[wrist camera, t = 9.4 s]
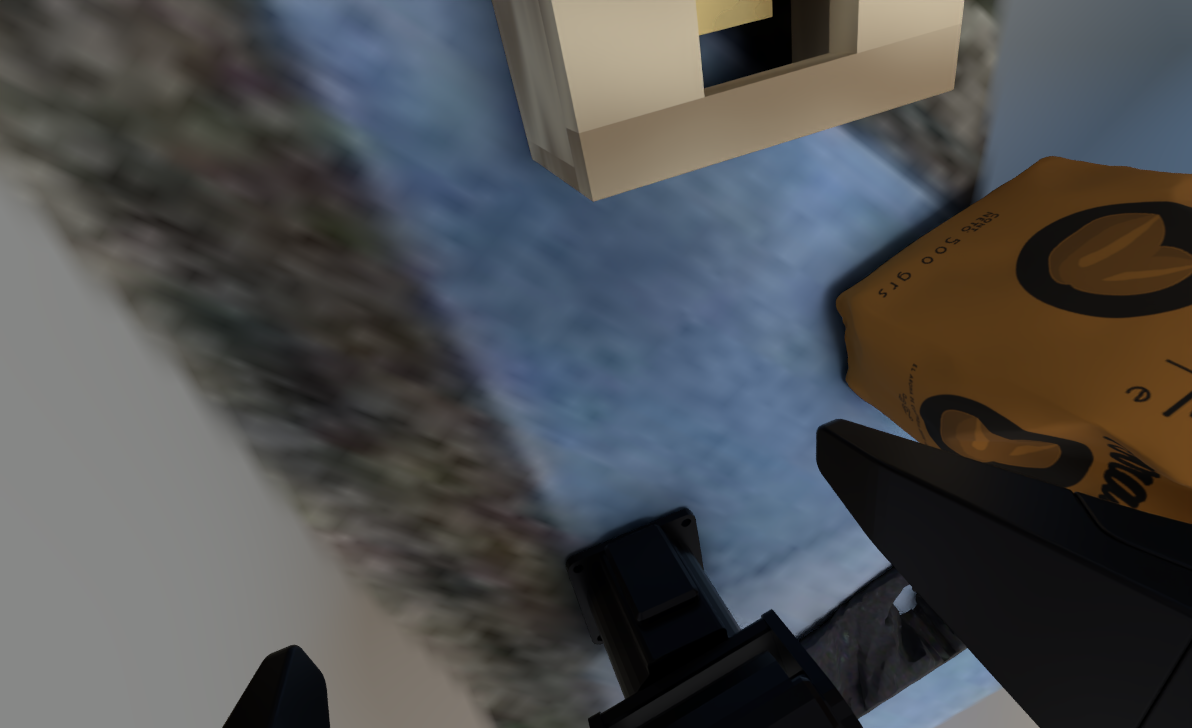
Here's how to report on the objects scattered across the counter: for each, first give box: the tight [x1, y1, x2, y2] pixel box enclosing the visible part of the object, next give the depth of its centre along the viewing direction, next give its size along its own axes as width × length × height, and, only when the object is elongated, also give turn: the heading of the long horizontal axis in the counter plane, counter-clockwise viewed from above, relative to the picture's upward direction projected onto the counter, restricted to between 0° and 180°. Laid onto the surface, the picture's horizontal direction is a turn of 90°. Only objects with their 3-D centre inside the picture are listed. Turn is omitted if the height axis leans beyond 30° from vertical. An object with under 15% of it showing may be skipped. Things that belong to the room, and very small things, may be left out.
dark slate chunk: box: [800, 567, 967, 719], centre depth 39 cm, size 15×22×5 cm
